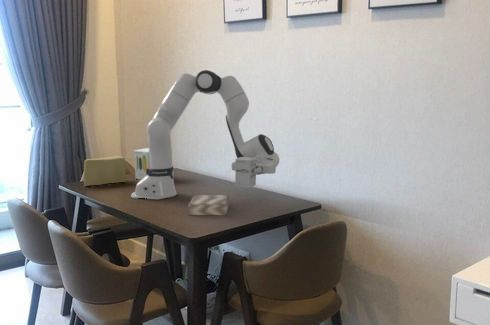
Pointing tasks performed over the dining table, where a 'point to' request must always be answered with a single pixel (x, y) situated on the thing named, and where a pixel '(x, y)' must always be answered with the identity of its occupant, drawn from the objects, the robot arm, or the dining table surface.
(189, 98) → the robot arm
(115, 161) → the cheese
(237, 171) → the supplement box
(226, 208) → the block
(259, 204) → the dining table surface
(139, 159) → the supplement box
